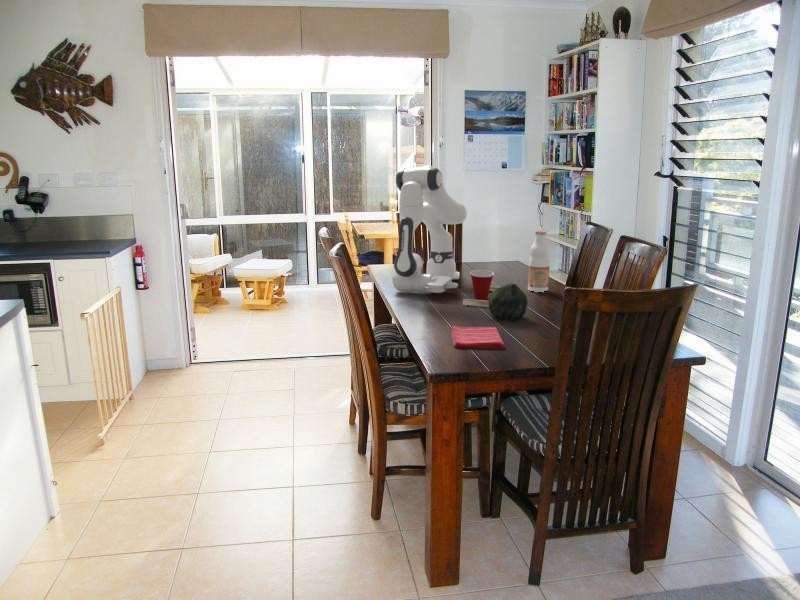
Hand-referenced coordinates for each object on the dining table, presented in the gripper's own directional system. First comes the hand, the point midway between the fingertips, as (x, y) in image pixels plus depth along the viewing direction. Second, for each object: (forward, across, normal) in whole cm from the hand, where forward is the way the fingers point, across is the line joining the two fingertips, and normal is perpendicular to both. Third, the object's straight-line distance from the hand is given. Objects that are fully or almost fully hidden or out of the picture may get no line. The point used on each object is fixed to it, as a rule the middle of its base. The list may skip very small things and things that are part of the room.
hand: (457, 285), depth 289 cm
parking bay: (+15, 0, +5) cm, 16 cm away
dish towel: (+21, -64, +6) cm, 67 cm away
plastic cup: (+11, -1, +5) cm, 12 cm away
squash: (+27, -31, +5) cm, 42 cm away
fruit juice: (+34, +24, +5) cm, 41 cm away
